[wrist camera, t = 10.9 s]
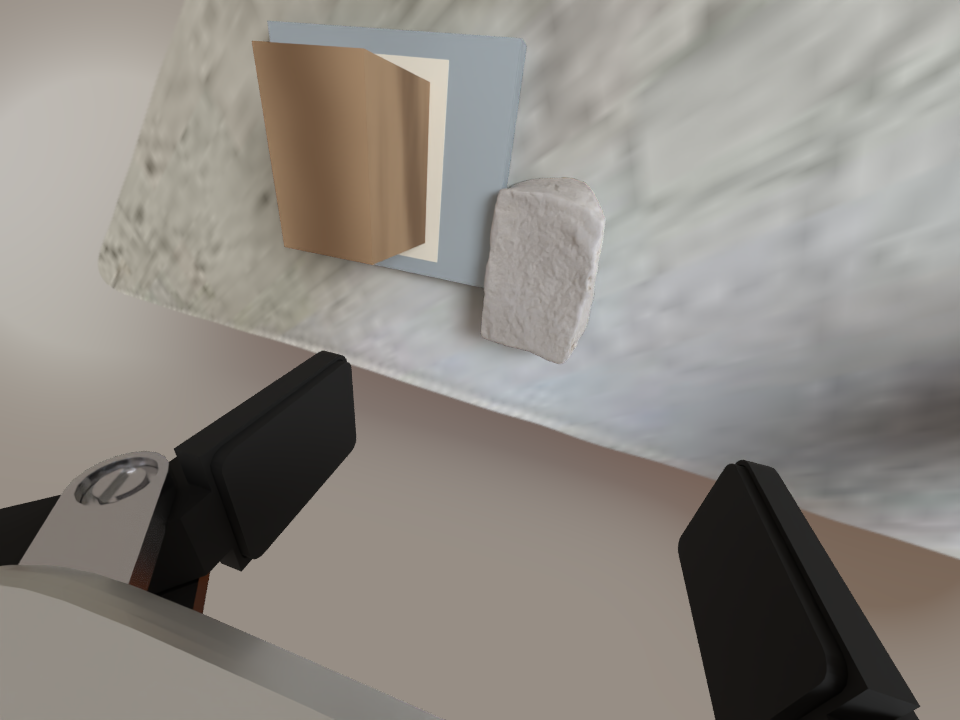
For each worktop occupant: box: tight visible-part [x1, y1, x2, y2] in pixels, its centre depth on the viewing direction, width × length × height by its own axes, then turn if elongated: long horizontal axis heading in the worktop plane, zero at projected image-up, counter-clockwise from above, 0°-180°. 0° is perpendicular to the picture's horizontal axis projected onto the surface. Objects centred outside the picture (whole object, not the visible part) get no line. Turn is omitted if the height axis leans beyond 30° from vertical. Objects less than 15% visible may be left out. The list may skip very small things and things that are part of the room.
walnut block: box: [252, 41, 430, 265], centre depth 18 cm, size 5×8×6 cm, turn 174°
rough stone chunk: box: [481, 177, 606, 364], centre depth 21 cm, size 10×6×6 cm, turn 170°
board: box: [267, 21, 527, 288], centre depth 21 cm, size 14×12×1 cm
